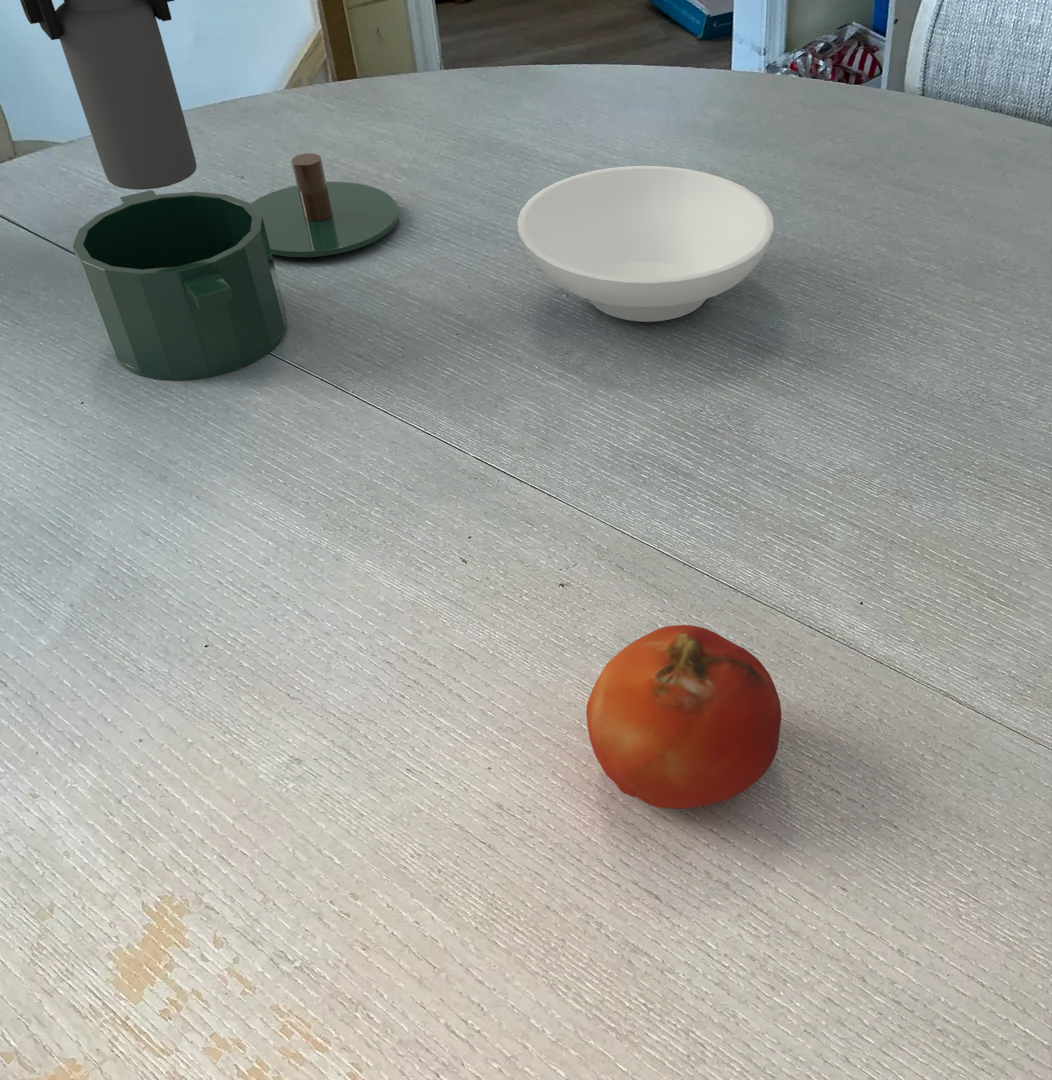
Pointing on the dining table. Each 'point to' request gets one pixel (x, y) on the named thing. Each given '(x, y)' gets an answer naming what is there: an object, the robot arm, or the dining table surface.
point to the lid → (323, 213)
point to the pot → (182, 283)
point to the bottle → (127, 91)
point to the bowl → (645, 238)
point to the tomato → (684, 718)
